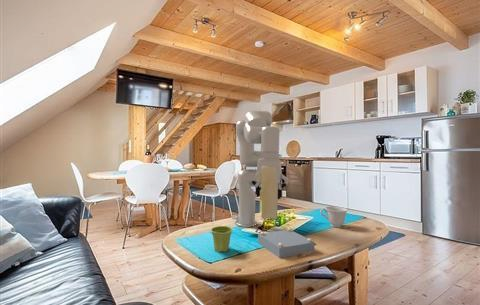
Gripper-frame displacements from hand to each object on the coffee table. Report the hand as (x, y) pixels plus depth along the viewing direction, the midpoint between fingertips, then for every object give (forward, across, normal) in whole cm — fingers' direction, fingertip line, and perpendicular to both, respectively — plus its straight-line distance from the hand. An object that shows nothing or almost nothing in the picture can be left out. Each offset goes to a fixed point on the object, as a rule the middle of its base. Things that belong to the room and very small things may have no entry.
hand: (268, 197), depth 108 cm
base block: (+24, +6, +10) cm, 26 cm away
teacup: (+24, +25, +53) cm, 64 cm away
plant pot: (+24, -19, -5) cm, 31 cm away
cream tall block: (+8, 0, 0) cm, 8 cm away
